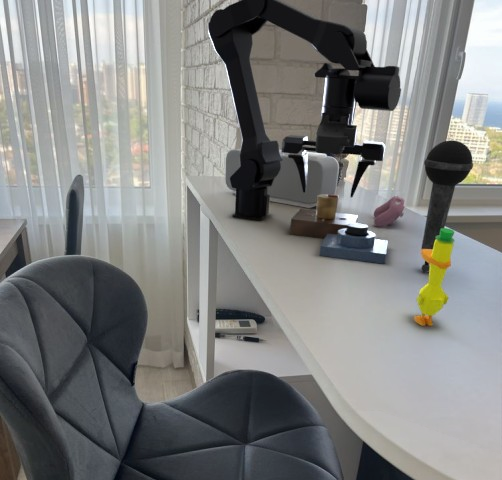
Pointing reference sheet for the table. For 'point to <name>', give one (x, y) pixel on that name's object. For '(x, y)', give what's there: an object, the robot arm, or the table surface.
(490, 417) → the table surface
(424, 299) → the toy figure
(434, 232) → the microphone
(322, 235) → the dial panel
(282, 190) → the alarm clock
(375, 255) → the button box
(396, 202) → the video game controller
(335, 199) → the dial
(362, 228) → the button
